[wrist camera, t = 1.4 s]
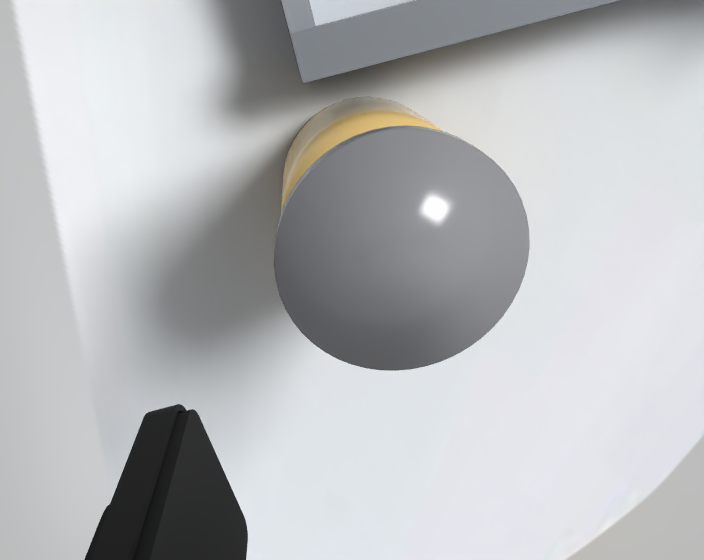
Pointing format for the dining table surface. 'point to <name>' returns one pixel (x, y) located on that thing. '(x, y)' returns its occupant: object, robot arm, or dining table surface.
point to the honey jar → (395, 237)
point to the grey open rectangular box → (407, 29)
